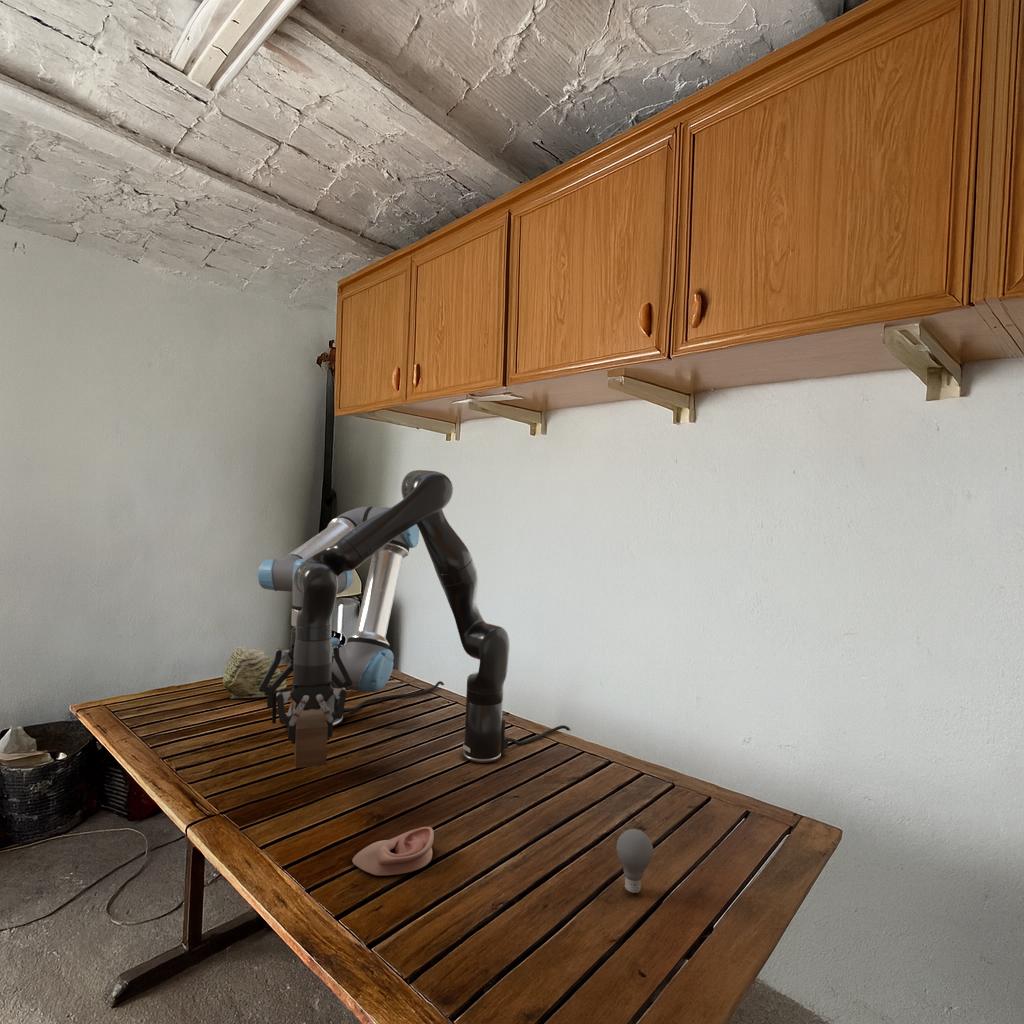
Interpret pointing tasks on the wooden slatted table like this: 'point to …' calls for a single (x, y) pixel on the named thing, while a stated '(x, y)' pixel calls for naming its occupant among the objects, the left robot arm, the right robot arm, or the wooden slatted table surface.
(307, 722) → the bar
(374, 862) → the anatomical model
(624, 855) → the light bulb
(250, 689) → the fossil
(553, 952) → the wooden slatted table surface
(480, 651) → the right robot arm
